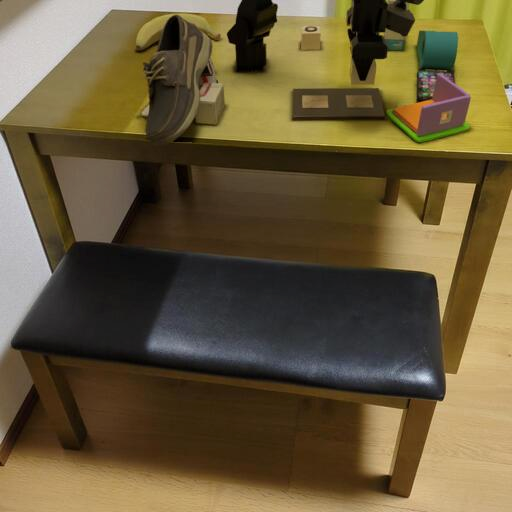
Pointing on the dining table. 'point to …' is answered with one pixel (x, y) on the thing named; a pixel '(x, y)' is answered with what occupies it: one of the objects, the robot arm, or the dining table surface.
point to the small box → (210, 103)
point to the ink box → (394, 35)
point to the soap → (145, 111)
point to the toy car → (208, 75)
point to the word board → (337, 104)
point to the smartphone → (430, 81)
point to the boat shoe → (175, 79)
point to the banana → (155, 27)
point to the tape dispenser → (437, 49)
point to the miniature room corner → (435, 113)
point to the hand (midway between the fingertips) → (361, 75)
